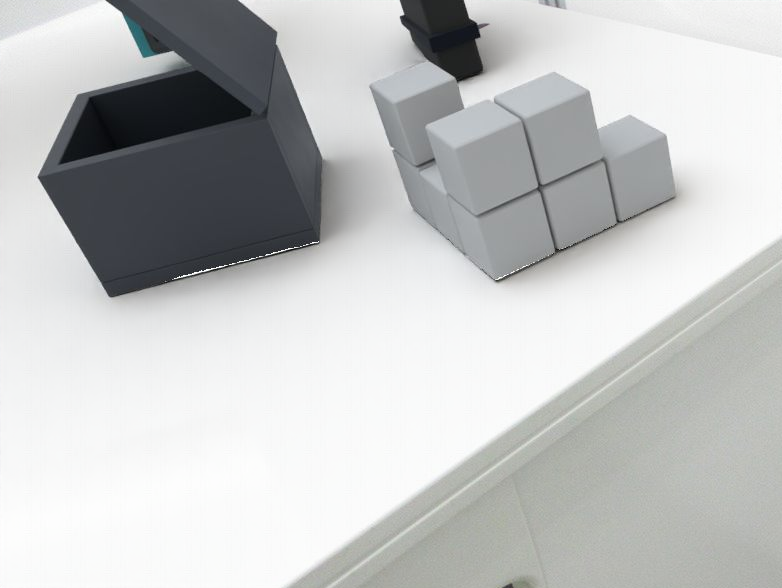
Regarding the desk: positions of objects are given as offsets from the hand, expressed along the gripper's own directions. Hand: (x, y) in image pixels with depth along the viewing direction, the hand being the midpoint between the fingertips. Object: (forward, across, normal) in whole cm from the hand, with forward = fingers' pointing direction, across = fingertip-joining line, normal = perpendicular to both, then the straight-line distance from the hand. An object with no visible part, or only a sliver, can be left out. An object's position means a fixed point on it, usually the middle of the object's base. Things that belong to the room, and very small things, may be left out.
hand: (170, 39), depth 91 cm
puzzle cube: (+2, +40, +26) cm, 48 cm away
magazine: (+2, +12, +22) cm, 25 cm away
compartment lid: (-12, +32, +8) cm, 35 cm away
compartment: (+2, +32, +6) cm, 33 cm away
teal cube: (0, 0, 0) cm, 0 cm away
